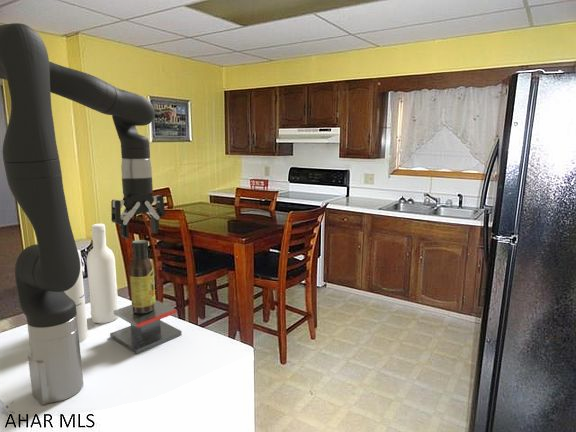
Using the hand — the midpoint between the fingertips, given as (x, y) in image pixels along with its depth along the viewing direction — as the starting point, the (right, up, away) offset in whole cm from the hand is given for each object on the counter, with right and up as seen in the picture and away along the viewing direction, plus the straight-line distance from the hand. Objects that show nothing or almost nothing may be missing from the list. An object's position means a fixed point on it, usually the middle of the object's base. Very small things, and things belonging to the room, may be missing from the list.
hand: (140, 235), depth 108 cm
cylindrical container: (-20, -29, +4) cm, 36 cm away
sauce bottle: (0, -21, +4) cm, 22 cm away
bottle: (-17, -27, +16) cm, 36 cm away
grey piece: (0, -29, +5) cm, 30 cm away
